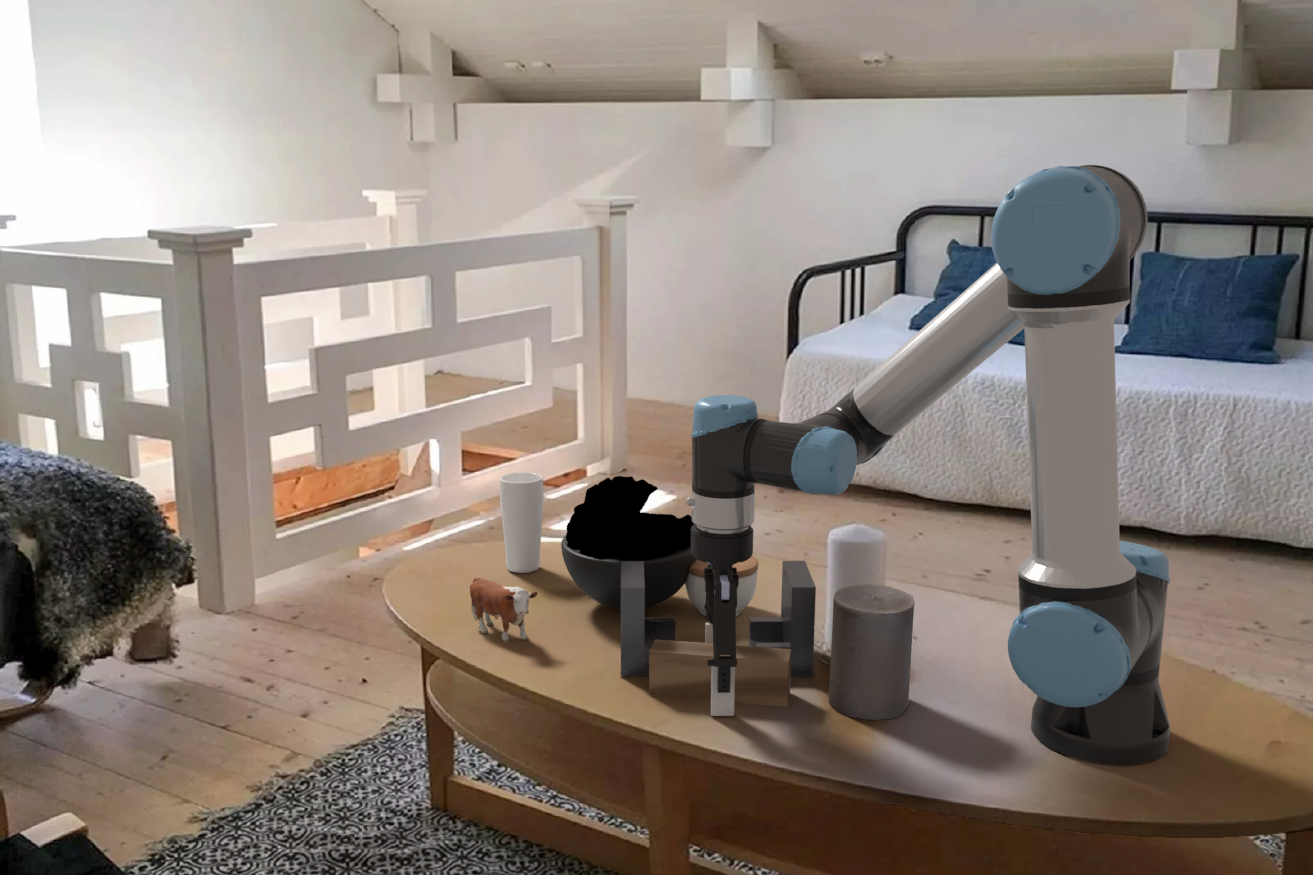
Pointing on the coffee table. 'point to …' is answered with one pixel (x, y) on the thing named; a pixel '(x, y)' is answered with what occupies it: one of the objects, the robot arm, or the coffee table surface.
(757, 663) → the rail
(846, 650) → the pillar candle
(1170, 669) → the coffee table surface
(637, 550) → the dark grey bowl
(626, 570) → the grey stand
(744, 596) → the lidded jar
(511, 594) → the bull figurine
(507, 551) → the drinking glass
